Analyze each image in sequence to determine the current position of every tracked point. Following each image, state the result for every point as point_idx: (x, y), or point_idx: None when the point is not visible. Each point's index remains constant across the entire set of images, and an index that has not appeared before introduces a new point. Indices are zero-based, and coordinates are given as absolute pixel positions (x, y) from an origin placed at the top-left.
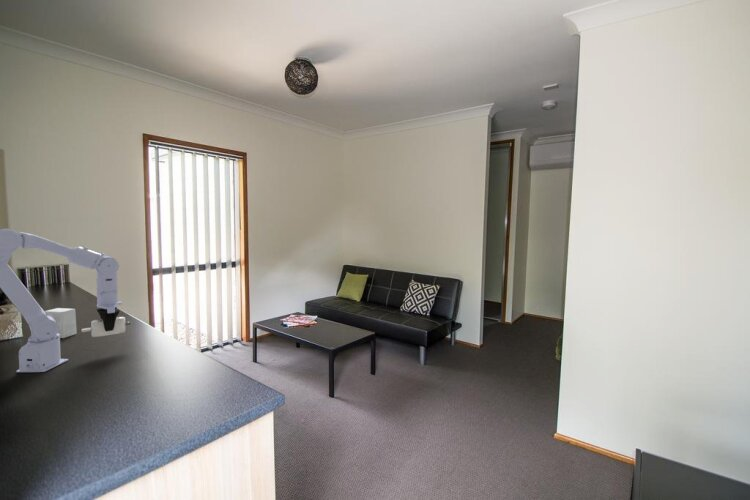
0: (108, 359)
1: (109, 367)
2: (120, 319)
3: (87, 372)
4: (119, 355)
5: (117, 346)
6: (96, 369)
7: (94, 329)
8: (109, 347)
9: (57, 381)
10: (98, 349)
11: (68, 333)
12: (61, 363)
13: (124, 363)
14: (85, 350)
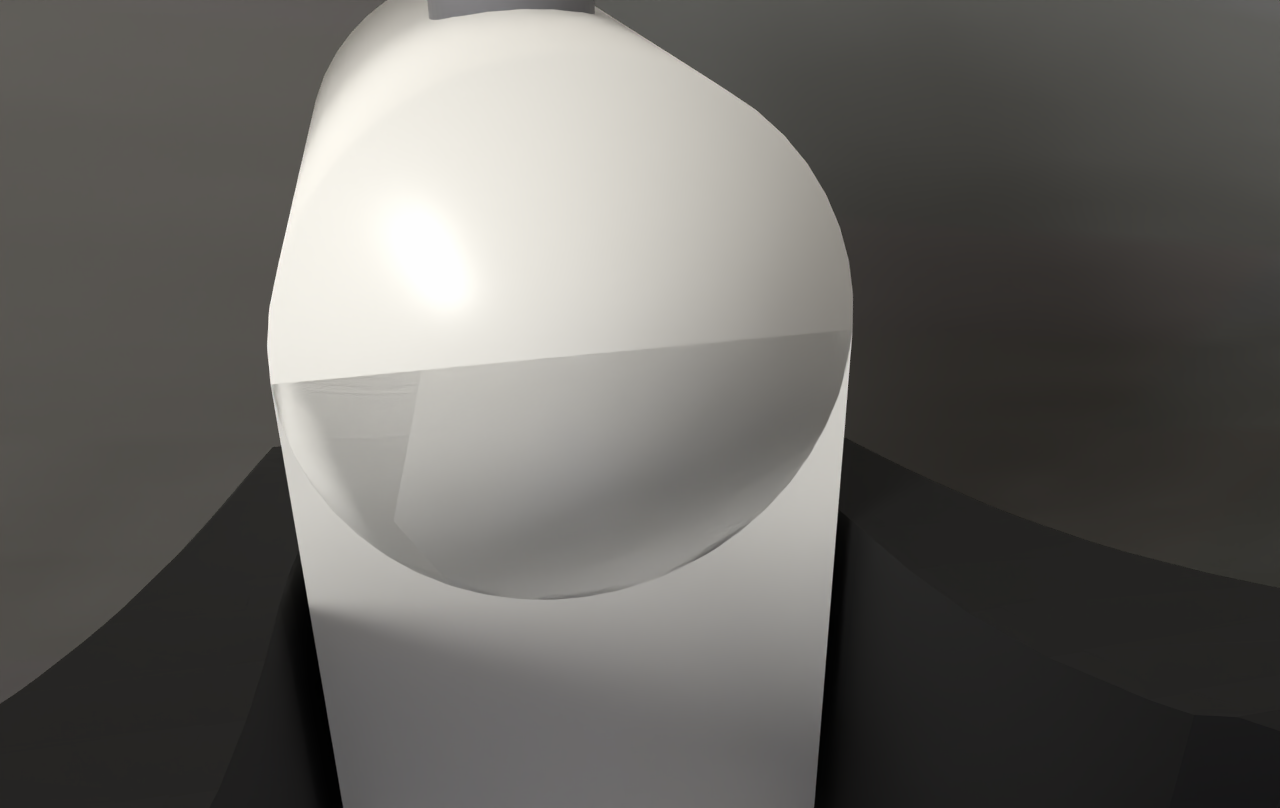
0: (862, 276)
1: (1238, 282)
2: (847, 303)
3: (1191, 514)
4: (770, 97)
5: (50, 59)
6: (1173, 427)
7: None
8: (46, 218)
9: None
10: (92, 406)
11: None
12: None
13: (1253, 75)
14: (37, 594)
